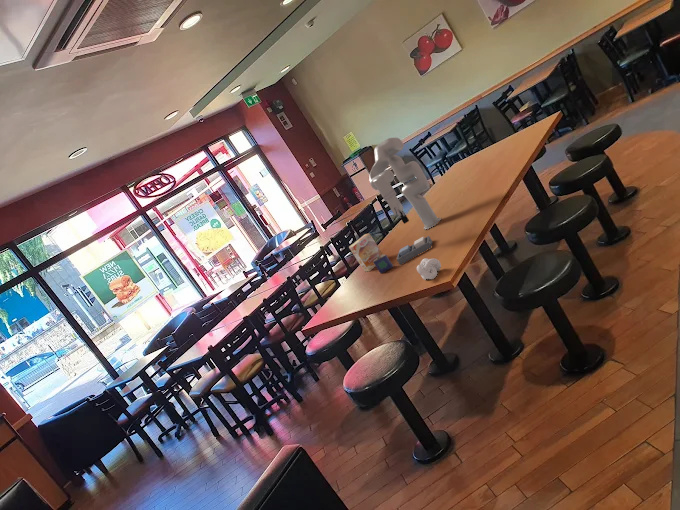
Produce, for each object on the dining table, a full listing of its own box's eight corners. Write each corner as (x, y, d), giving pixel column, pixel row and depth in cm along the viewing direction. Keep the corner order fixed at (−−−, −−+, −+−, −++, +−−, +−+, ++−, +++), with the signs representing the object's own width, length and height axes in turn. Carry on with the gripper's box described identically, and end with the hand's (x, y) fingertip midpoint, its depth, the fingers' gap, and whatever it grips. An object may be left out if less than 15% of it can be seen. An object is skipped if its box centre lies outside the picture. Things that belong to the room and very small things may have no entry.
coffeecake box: (369, 271, 326) (352, 246, 322) (364, 271, 333) (347, 247, 329) (386, 257, 331) (369, 232, 327) (380, 258, 338) (364, 233, 334)
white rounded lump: (439, 279, 243) (429, 263, 241) (419, 287, 250) (409, 272, 248) (446, 267, 251) (436, 252, 250) (426, 275, 259) (416, 260, 257)
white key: (416, 245, 302) (414, 241, 302) (425, 240, 300) (423, 236, 300) (416, 249, 297) (413, 244, 296) (425, 244, 295) (422, 239, 294)
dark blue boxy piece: (394, 265, 305) (384, 251, 303) (393, 267, 303) (383, 253, 301) (381, 272, 309) (371, 258, 307) (380, 274, 306) (370, 260, 304)
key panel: (401, 257, 310) (398, 252, 309) (432, 241, 303) (428, 235, 302) (400, 265, 299) (396, 259, 298) (431, 248, 292) (428, 242, 291)
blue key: (402, 253, 306) (399, 249, 305) (411, 248, 304) (408, 244, 303) (401, 257, 300) (398, 253, 300) (410, 252, 298) (407, 248, 297)
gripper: (385, 195, 300) (402, 221, 303) (382, 202, 286) (400, 229, 290) (396, 188, 297) (413, 215, 301) (394, 195, 283) (411, 222, 287)
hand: (406, 222), depth 295 cm, fingers closed
